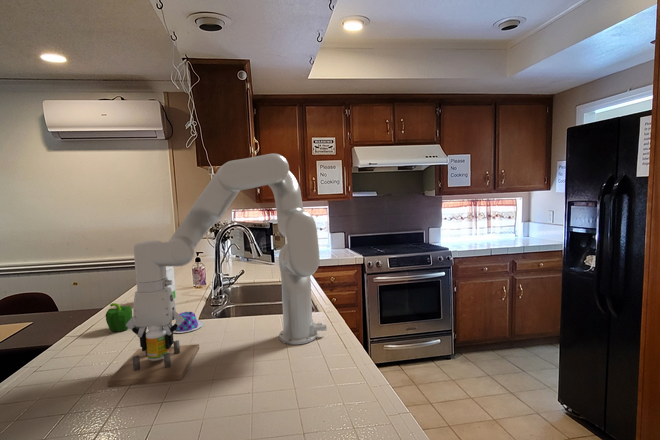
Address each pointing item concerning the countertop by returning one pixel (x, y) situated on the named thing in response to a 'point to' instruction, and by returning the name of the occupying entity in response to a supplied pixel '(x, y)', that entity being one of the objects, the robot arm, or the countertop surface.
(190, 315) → the pudding
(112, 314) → the bell pepper
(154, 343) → the supplement bottle
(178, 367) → the peg cradle
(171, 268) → the skincare box
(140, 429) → the countertop surface
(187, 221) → the robot arm
